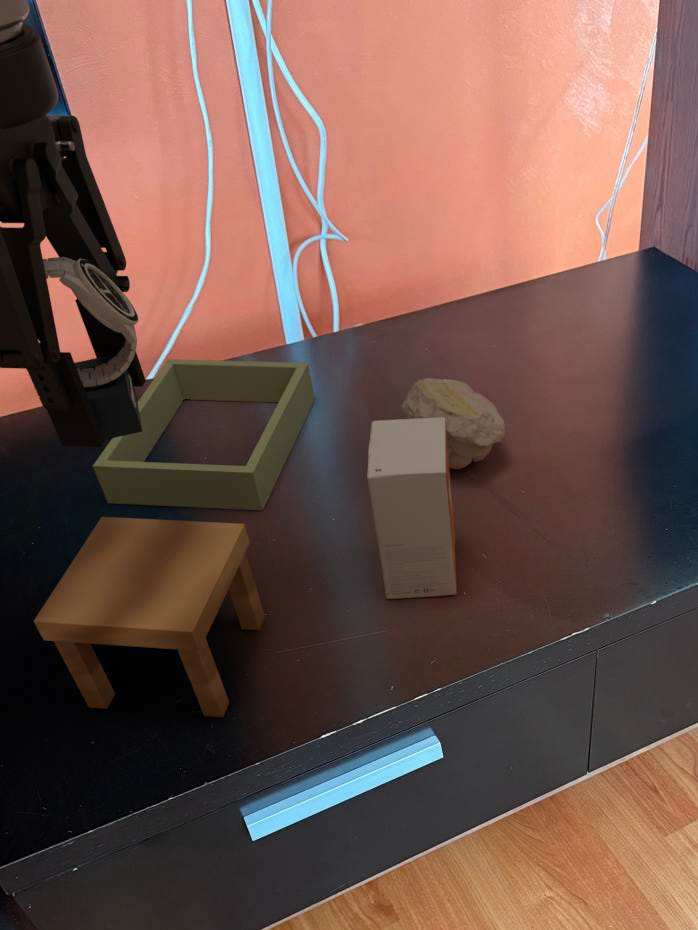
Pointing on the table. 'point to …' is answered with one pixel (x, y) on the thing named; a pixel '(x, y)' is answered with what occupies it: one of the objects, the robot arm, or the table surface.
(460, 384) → the beige rock
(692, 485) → the table surface
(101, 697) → the stool
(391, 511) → the small box
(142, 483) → the olive green rectangular frame
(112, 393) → the watch
